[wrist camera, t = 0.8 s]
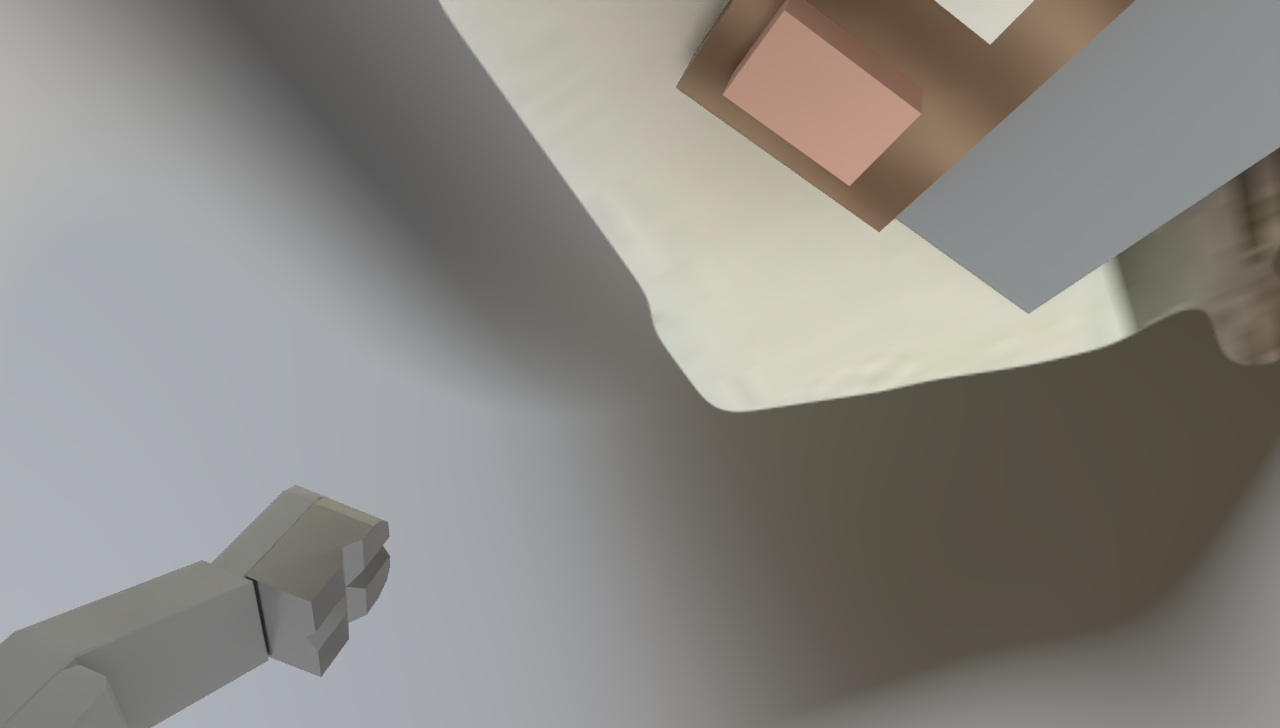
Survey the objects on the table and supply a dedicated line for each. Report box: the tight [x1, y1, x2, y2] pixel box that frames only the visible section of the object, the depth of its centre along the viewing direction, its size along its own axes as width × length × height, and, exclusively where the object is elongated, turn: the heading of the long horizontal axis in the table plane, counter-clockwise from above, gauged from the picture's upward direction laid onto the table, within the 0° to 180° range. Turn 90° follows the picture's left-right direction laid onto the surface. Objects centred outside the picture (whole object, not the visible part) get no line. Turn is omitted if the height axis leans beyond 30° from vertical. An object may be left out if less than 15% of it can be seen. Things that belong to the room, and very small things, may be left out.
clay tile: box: [723, 0, 923, 186], centre depth 38 cm, size 5×8×2 cm, turn 60°
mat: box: [895, 0, 1280, 314], centre depth 41 cm, size 20×12×1 cm, turn 150°
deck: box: [676, 0, 1136, 232], centre depth 37 cm, size 19×14×4 cm
